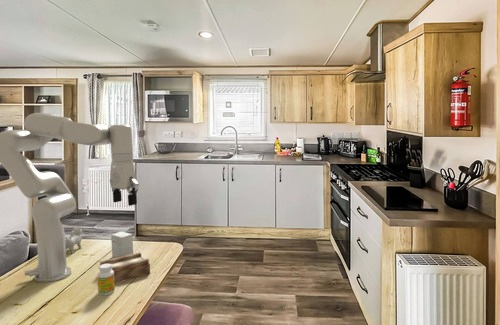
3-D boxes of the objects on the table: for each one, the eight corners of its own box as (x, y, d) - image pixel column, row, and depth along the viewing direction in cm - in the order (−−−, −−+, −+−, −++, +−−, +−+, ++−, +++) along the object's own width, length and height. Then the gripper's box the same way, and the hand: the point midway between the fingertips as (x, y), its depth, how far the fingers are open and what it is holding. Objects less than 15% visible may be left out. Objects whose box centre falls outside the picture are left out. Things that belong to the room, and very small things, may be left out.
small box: (133, 256, 155) (132, 234, 153) (123, 260, 150) (122, 237, 149) (122, 252, 159) (121, 231, 158) (111, 256, 154) (110, 234, 153)
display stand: (108, 284, 127) (107, 270, 126) (100, 273, 136) (99, 260, 136) (150, 273, 136) (149, 260, 136) (139, 264, 146) (139, 251, 145)
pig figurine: (86, 245, 169) (85, 224, 168) (73, 254, 157) (71, 232, 156) (75, 245, 169) (74, 224, 168) (61, 254, 157) (60, 232, 156)
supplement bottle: (99, 296, 118) (97, 269, 117) (98, 290, 123) (96, 264, 122) (115, 293, 120) (114, 266, 119) (113, 286, 125) (112, 261, 124)
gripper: (100, 157, 128) (103, 202, 130) (126, 160, 118) (129, 208, 120) (118, 156, 134) (120, 198, 136) (145, 158, 124) (147, 204, 126)
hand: (124, 203), depth 128 cm, fingers open, 9 cm apart
